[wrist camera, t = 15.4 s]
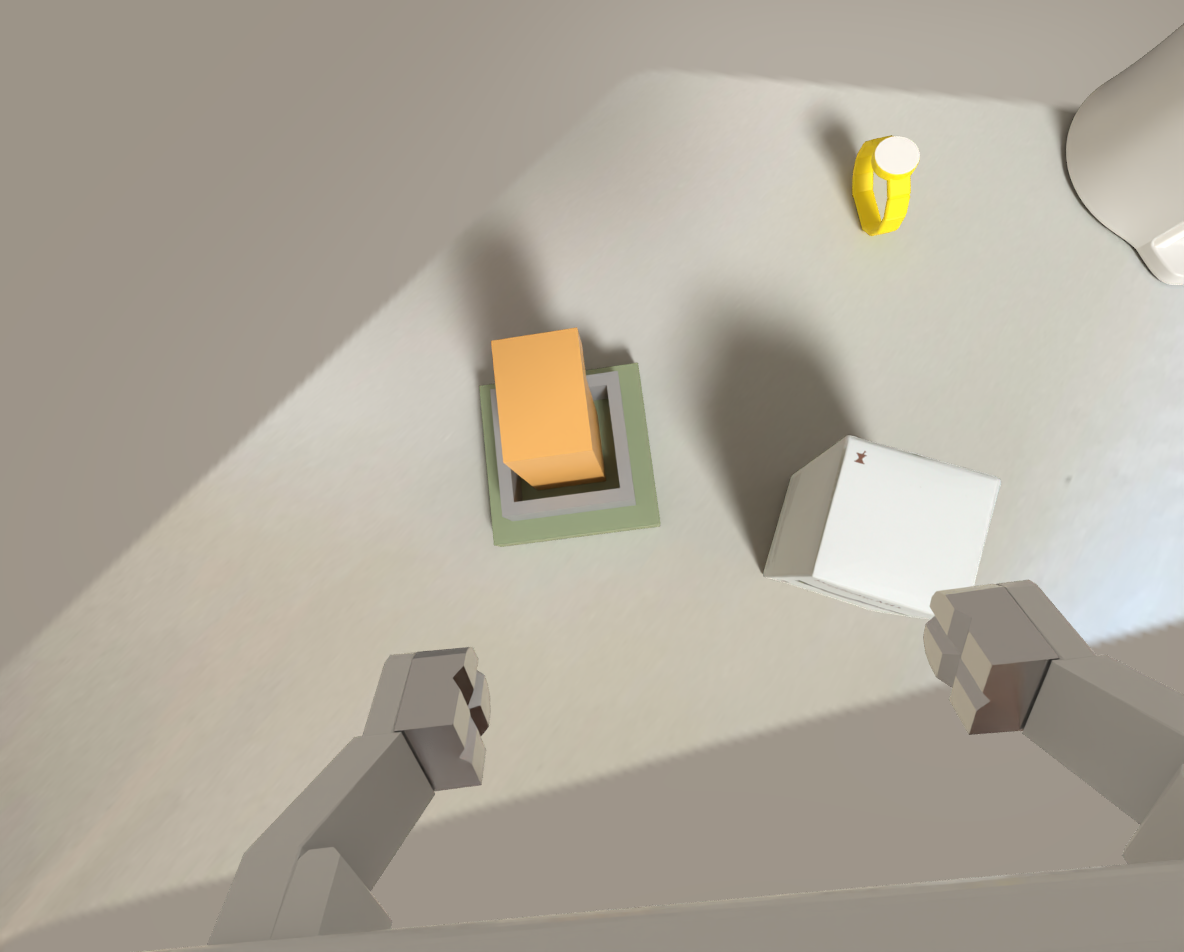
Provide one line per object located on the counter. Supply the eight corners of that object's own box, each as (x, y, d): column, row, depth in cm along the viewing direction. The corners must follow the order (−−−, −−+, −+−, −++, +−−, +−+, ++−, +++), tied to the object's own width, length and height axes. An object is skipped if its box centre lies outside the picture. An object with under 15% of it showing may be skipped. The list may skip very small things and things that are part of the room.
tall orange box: (606, 481, 42) (592, 450, 32) (537, 490, 42) (503, 462, 32) (593, 385, 43) (577, 327, 33) (527, 395, 43) (490, 340, 33)
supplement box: (759, 577, 42) (804, 576, 30) (790, 472, 43) (847, 427, 30) (871, 615, 41) (967, 629, 28) (901, 506, 42) (1006, 474, 29)
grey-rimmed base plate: (638, 372, 45) (636, 346, 40) (660, 526, 43) (661, 519, 38) (486, 394, 46) (466, 371, 41) (501, 546, 44) (482, 542, 39)
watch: (836, 181, 46) (861, 118, 41) (874, 173, 46) (905, 108, 40) (858, 253, 45) (887, 197, 39) (898, 244, 45) (933, 187, 39)
